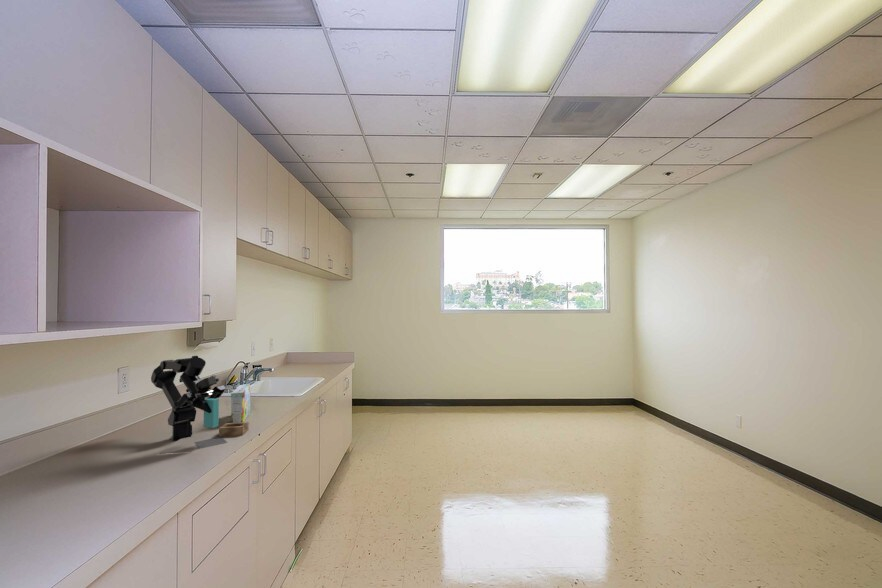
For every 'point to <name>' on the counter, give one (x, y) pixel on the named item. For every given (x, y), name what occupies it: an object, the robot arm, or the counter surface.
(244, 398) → the snack box
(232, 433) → the slot box
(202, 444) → the rubber mat
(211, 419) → the teal block
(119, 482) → the counter surface
